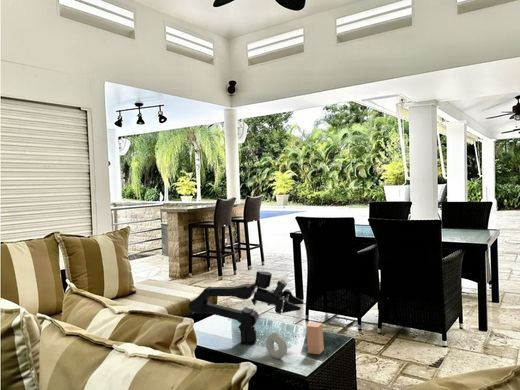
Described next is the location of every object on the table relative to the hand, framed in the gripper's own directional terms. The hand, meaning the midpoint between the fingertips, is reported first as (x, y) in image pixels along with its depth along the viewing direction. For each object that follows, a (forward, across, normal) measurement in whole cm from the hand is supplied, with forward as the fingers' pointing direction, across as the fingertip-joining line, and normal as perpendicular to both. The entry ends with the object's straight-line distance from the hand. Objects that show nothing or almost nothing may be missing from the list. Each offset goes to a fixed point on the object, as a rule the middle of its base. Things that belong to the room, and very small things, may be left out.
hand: (302, 305), depth 175 cm
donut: (-4, -17, +18) cm, 25 cm away
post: (+10, -9, +14) cm, 19 cm away
